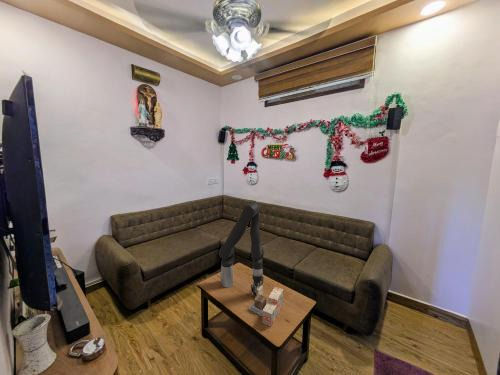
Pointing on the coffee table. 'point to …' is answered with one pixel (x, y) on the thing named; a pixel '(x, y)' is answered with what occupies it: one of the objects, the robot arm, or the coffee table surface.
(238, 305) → the coffee table surface
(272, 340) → the coffee table surface
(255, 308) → the build board
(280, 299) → the stack of blocks
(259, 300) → the walnut block
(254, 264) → the robot arm
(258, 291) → the maple block
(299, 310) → the coffee table surface
